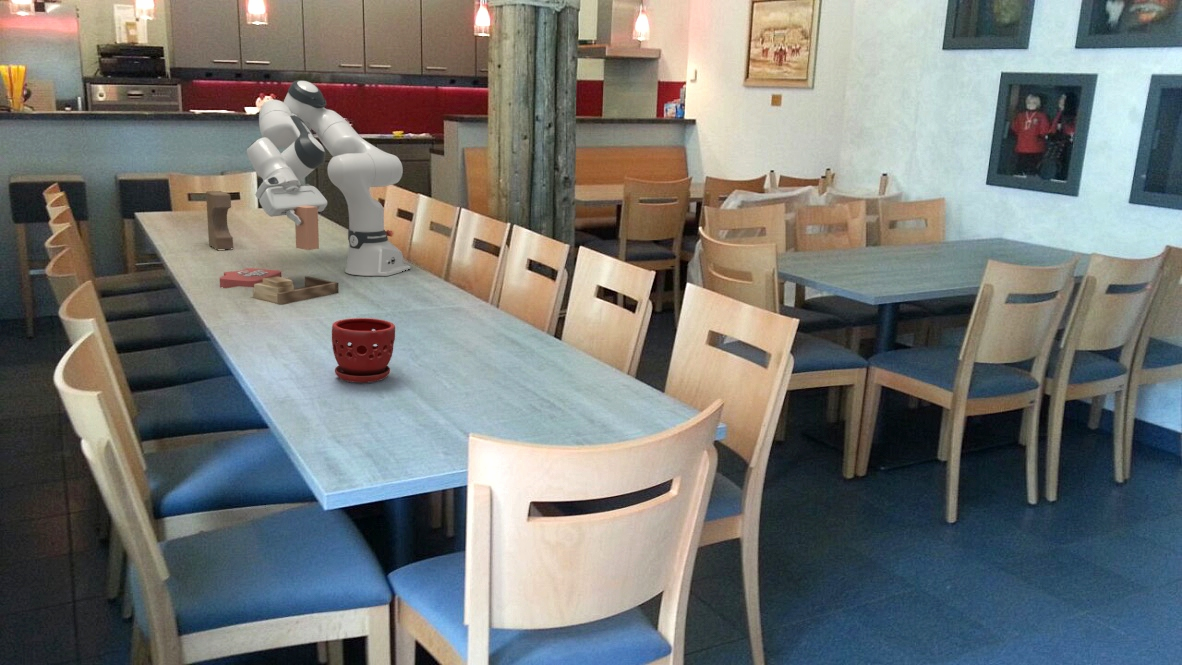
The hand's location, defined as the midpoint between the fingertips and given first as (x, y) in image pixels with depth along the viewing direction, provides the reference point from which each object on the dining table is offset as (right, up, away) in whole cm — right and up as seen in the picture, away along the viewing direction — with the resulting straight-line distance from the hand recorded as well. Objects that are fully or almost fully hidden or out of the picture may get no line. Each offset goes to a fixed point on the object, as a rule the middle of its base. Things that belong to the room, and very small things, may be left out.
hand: (308, 223), depth 267 cm
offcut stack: (-8, -22, -3) cm, 23 cm away
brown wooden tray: (-5, -21, +2) cm, 22 cm away
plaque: (-25, -17, +19) cm, 35 cm away
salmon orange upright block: (-1, -7, +2) cm, 7 cm away
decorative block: (-54, -1, +73) cm, 91 cm away
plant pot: (+32, -41, -65) cm, 83 cm away
